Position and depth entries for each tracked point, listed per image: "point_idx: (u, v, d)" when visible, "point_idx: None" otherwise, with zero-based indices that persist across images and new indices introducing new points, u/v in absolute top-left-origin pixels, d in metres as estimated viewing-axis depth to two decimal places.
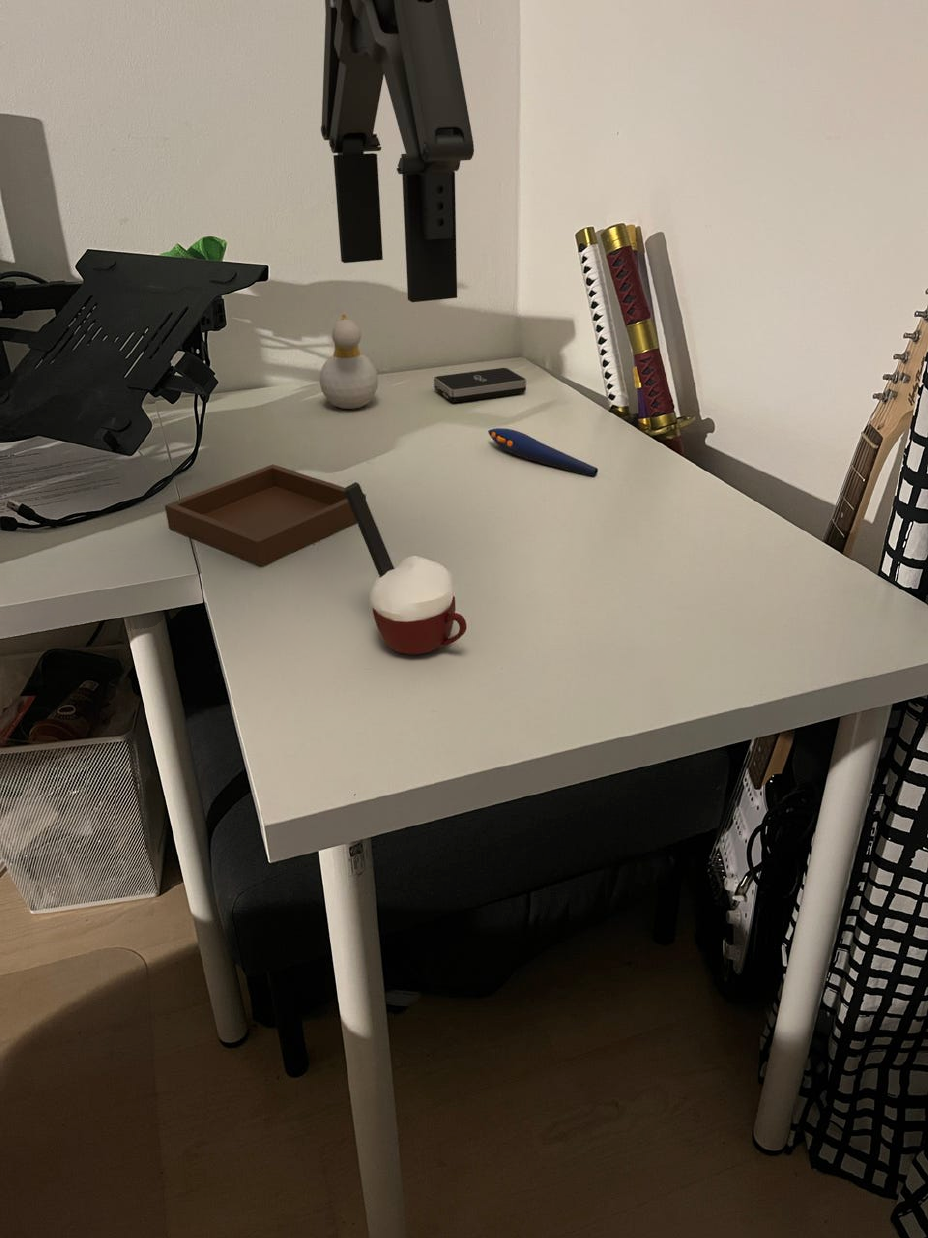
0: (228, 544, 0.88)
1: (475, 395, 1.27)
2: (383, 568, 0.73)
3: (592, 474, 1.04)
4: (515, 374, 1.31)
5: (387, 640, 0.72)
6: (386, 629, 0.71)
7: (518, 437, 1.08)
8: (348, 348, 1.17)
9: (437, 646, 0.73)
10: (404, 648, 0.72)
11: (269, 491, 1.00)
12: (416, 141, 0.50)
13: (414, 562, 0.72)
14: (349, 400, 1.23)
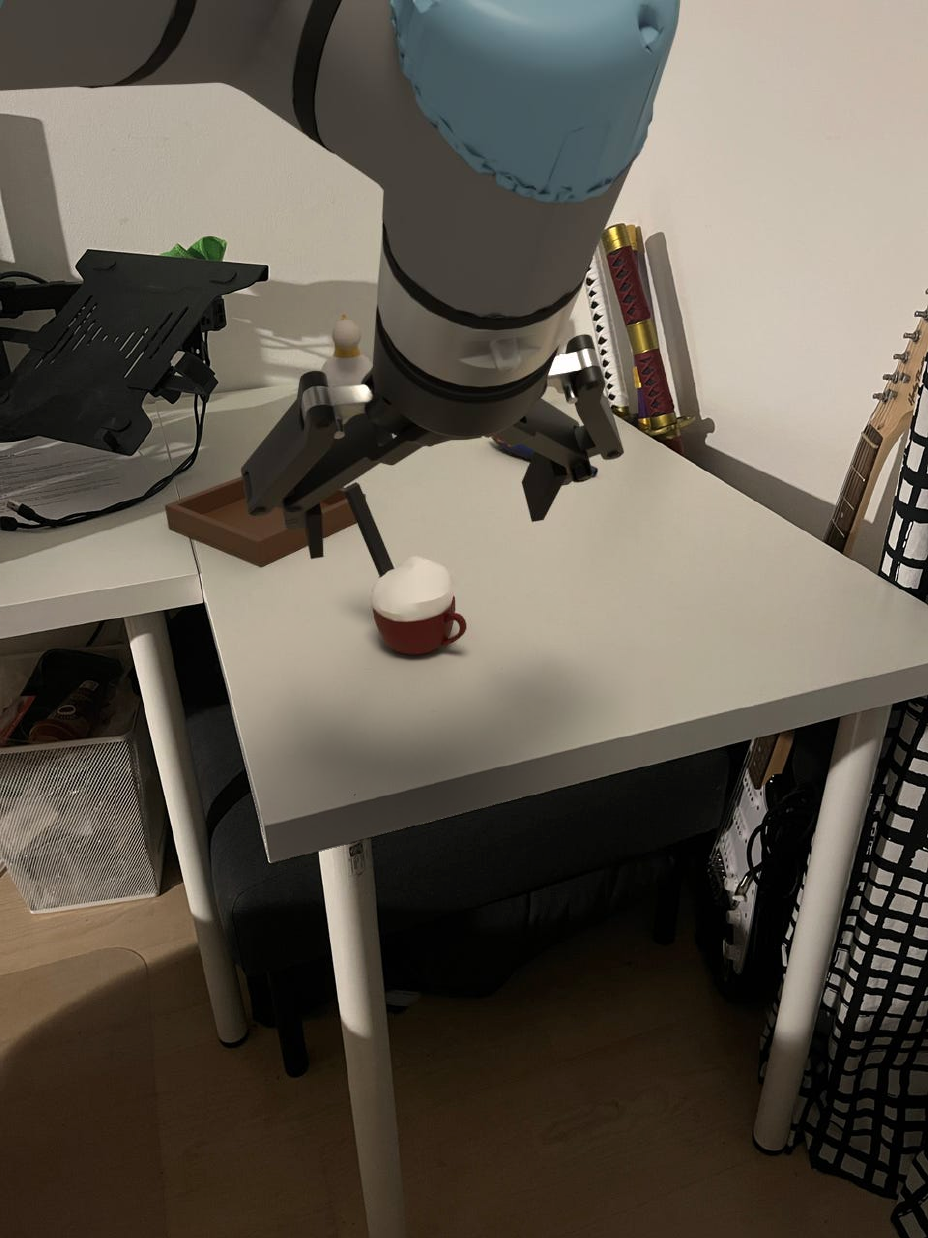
0: (228, 544, 0.88)
1: None
2: (383, 568, 0.73)
3: None
4: None
5: (387, 640, 0.72)
6: (386, 629, 0.71)
7: None
8: (348, 348, 1.17)
9: (437, 646, 0.73)
10: (404, 648, 0.72)
11: None
12: None
13: (414, 562, 0.72)
14: None
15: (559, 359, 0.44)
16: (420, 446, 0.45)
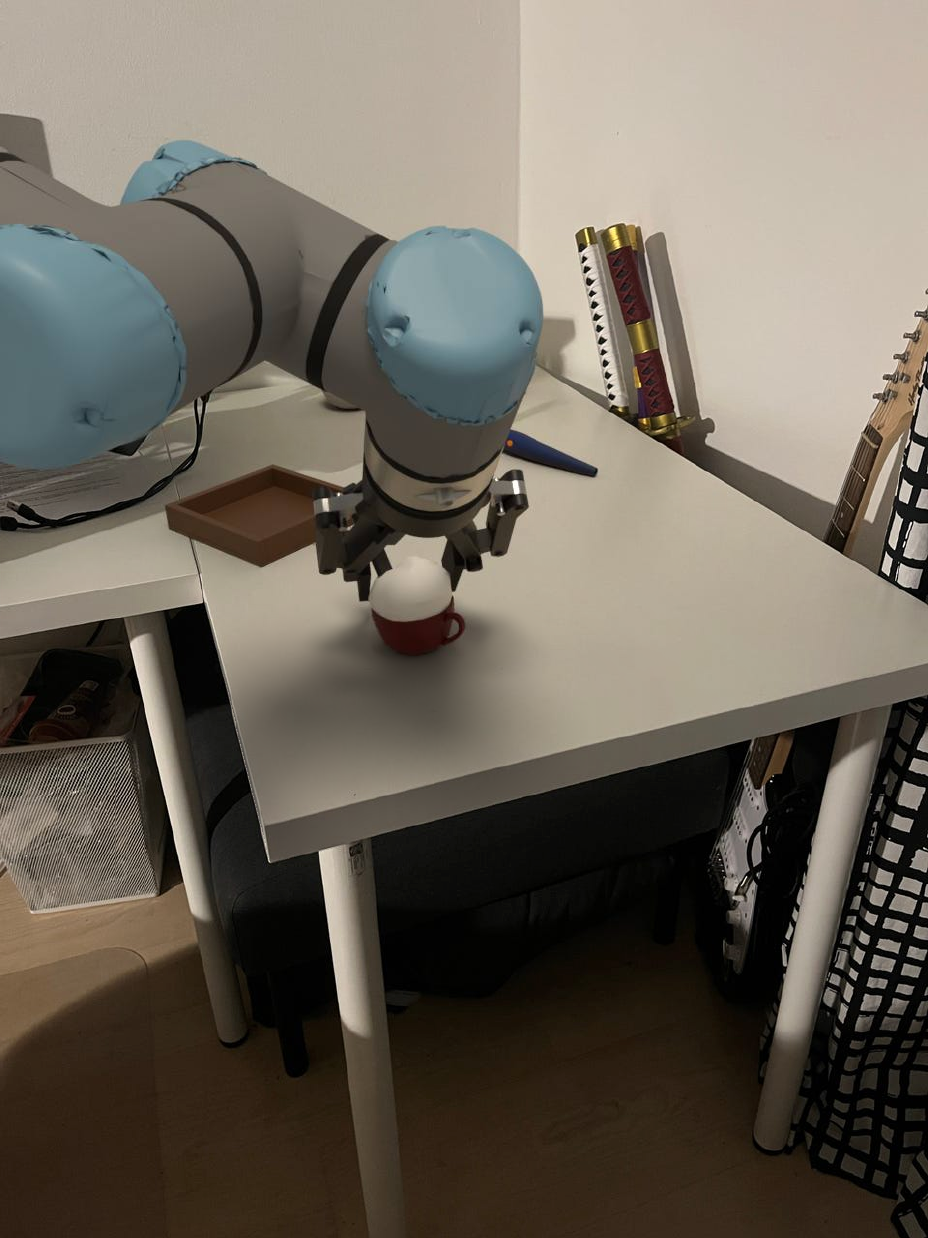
0: (228, 544, 0.88)
1: None
2: (381, 568, 0.73)
3: (592, 474, 1.04)
4: None
5: (386, 640, 0.72)
6: (385, 629, 0.71)
7: (518, 437, 1.08)
8: None
9: (436, 646, 0.72)
10: (403, 648, 0.72)
11: (269, 491, 1.00)
12: (344, 539, 0.68)
13: (412, 562, 0.72)
14: None
15: (501, 483, 0.61)
16: (395, 534, 0.61)
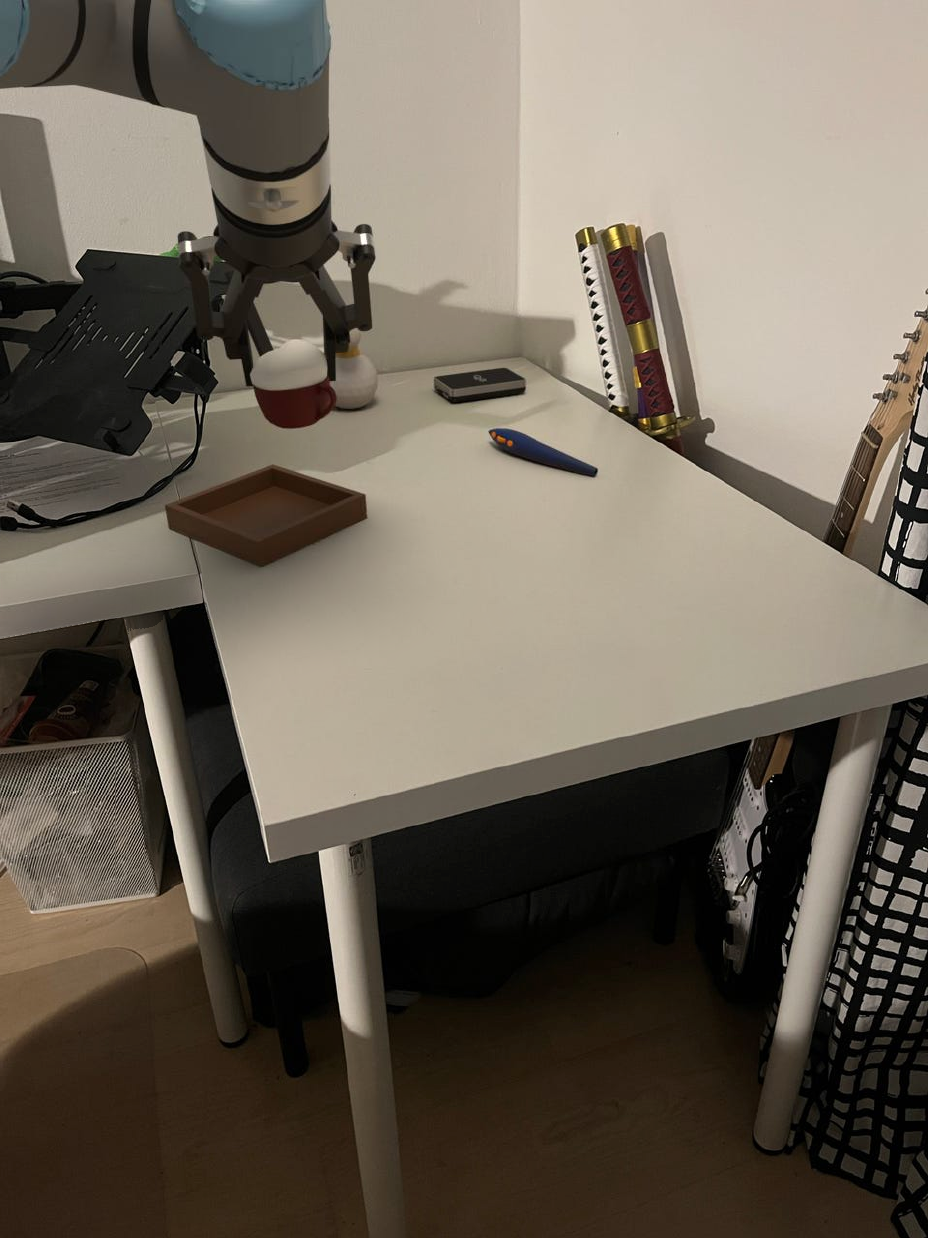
0: (228, 544, 0.88)
1: (475, 395, 1.27)
2: (263, 348, 0.79)
3: (592, 474, 1.04)
4: (515, 374, 1.31)
5: (266, 413, 0.79)
6: (263, 400, 0.78)
7: (518, 437, 1.08)
8: None
9: (312, 419, 0.79)
10: (281, 418, 0.79)
11: (269, 491, 1.00)
12: (221, 309, 0.75)
13: (290, 341, 0.79)
14: (349, 400, 1.23)
15: (349, 234, 0.68)
16: (254, 279, 0.68)
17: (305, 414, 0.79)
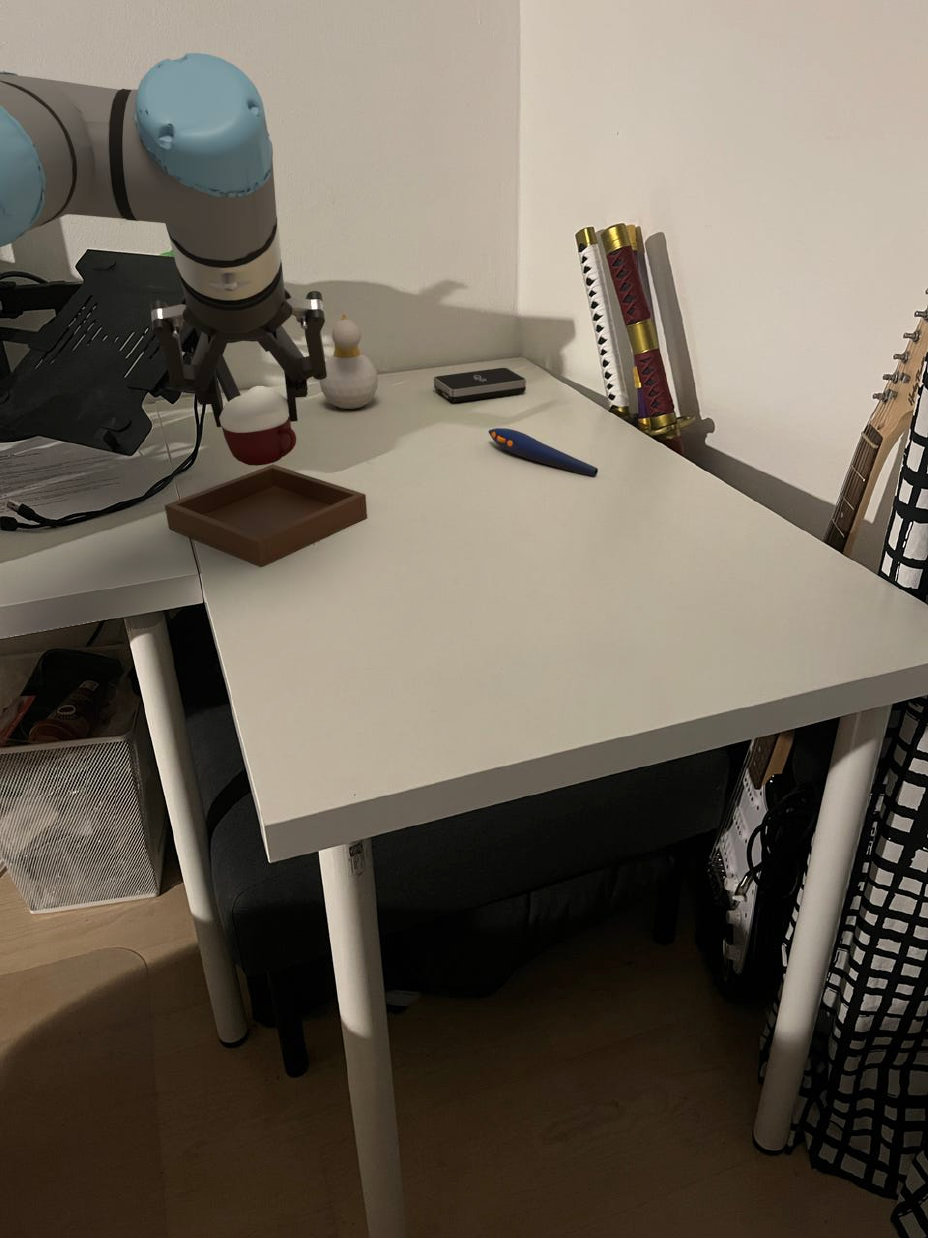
0: (228, 544, 0.88)
1: (475, 395, 1.27)
2: (230, 394, 0.89)
3: (592, 474, 1.04)
4: (515, 374, 1.31)
5: (233, 452, 0.89)
6: (231, 441, 0.88)
7: (518, 437, 1.08)
8: (348, 348, 1.17)
9: (275, 457, 0.89)
10: (247, 457, 0.88)
11: (269, 491, 1.00)
12: (192, 362, 0.85)
13: (254, 388, 0.88)
14: (349, 400, 1.23)
15: (301, 300, 0.77)
16: (219, 341, 0.77)
17: (268, 453, 0.88)
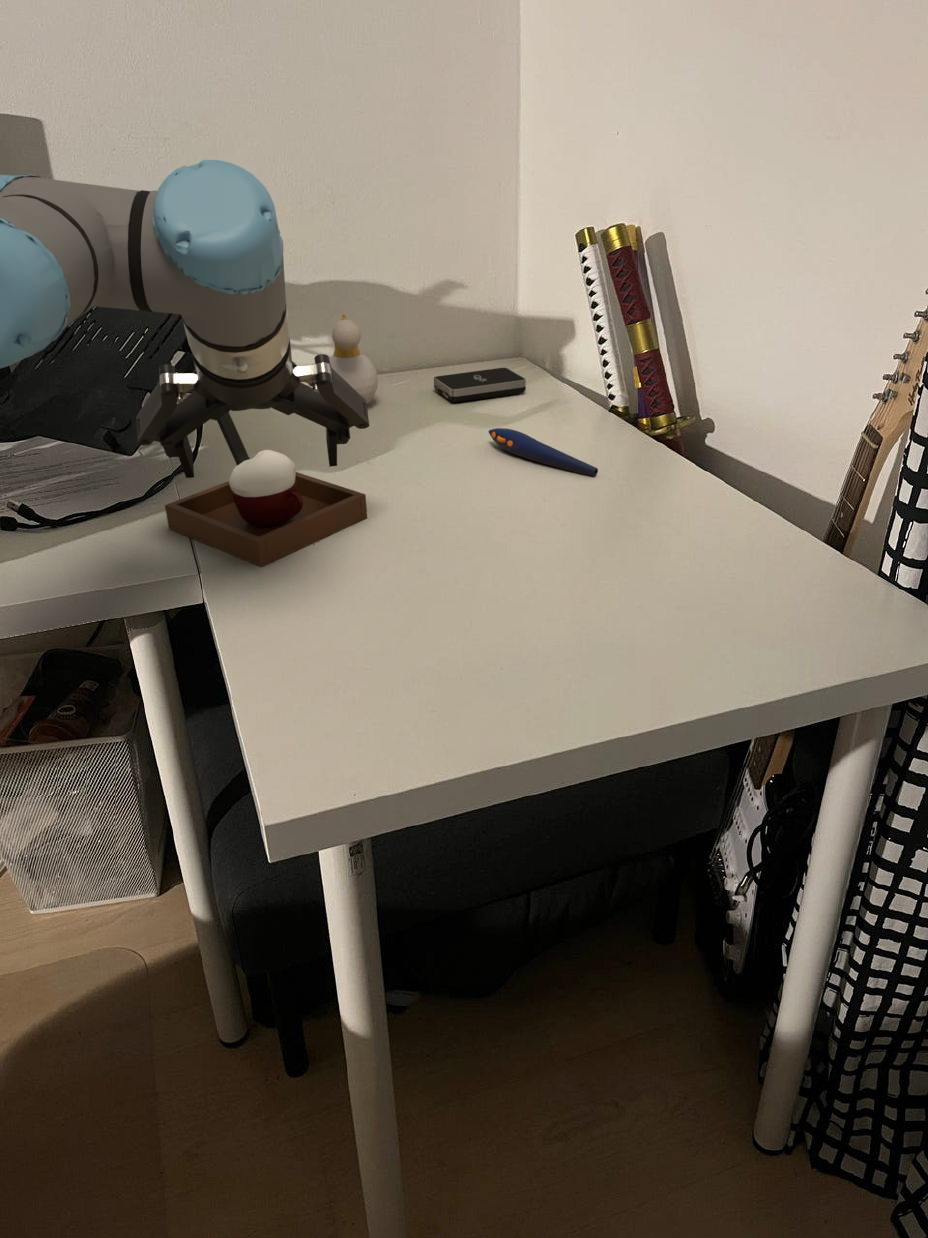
0: (228, 544, 0.88)
1: (475, 394, 1.27)
2: (239, 458, 0.92)
3: (592, 474, 1.04)
4: (515, 374, 1.31)
5: (242, 514, 0.92)
6: (240, 504, 0.91)
7: (518, 437, 1.08)
8: (348, 348, 1.17)
9: (282, 519, 0.92)
10: (255, 519, 0.91)
11: None
12: None
13: (263, 452, 0.91)
14: None
15: (306, 367, 0.79)
16: (228, 410, 0.80)
17: (276, 516, 0.91)
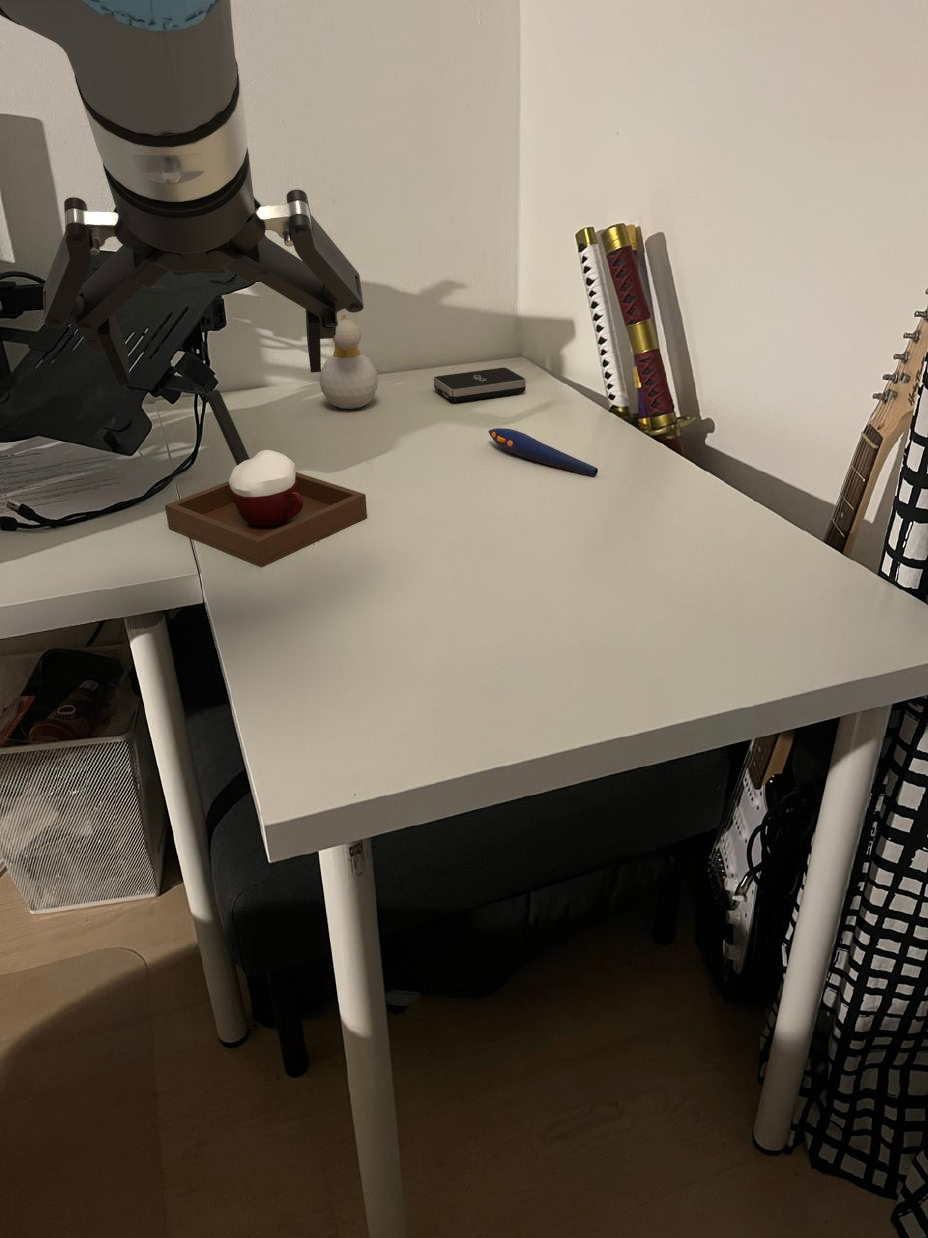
0: (228, 544, 0.88)
1: (475, 394, 1.27)
2: (239, 458, 0.92)
3: (592, 474, 1.04)
4: (515, 374, 1.31)
5: (242, 514, 0.92)
6: (240, 504, 0.91)
7: (518, 437, 1.08)
8: (348, 348, 1.17)
9: (282, 519, 0.92)
10: (255, 519, 0.91)
11: None
12: (80, 289, 0.62)
13: (263, 452, 0.91)
14: (349, 400, 1.23)
15: (275, 207, 0.56)
16: (166, 270, 0.57)
17: (276, 516, 0.91)
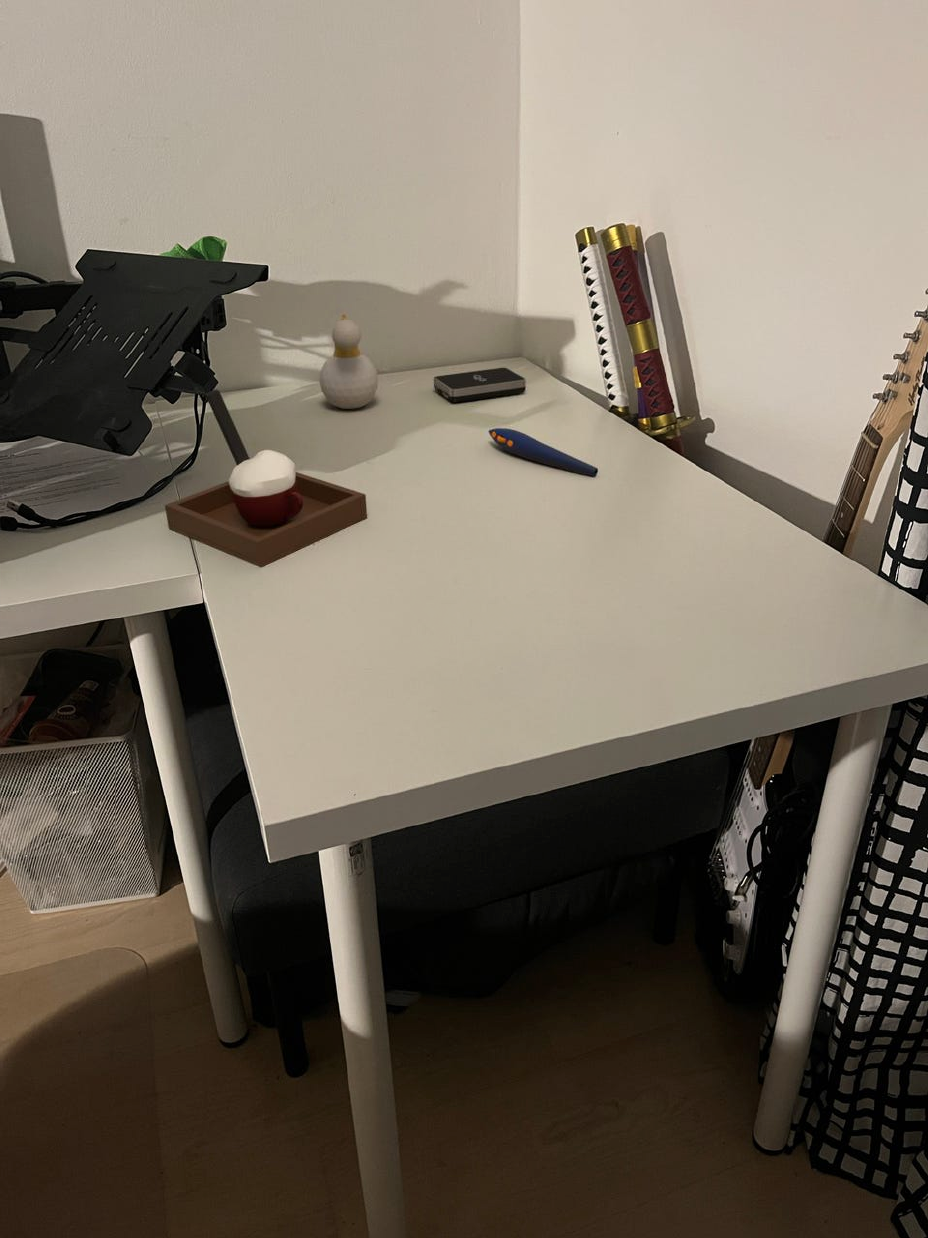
0: (228, 544, 0.88)
1: (475, 394, 1.27)
2: (239, 458, 0.92)
3: (592, 474, 1.04)
4: (515, 374, 1.31)
5: (242, 514, 0.92)
6: (240, 504, 0.91)
7: (518, 437, 1.08)
8: (348, 348, 1.17)
9: (282, 519, 0.92)
10: (255, 519, 0.91)
11: None
12: None
13: (263, 452, 0.91)
14: (349, 400, 1.23)
15: None
16: None
17: (276, 516, 0.91)
